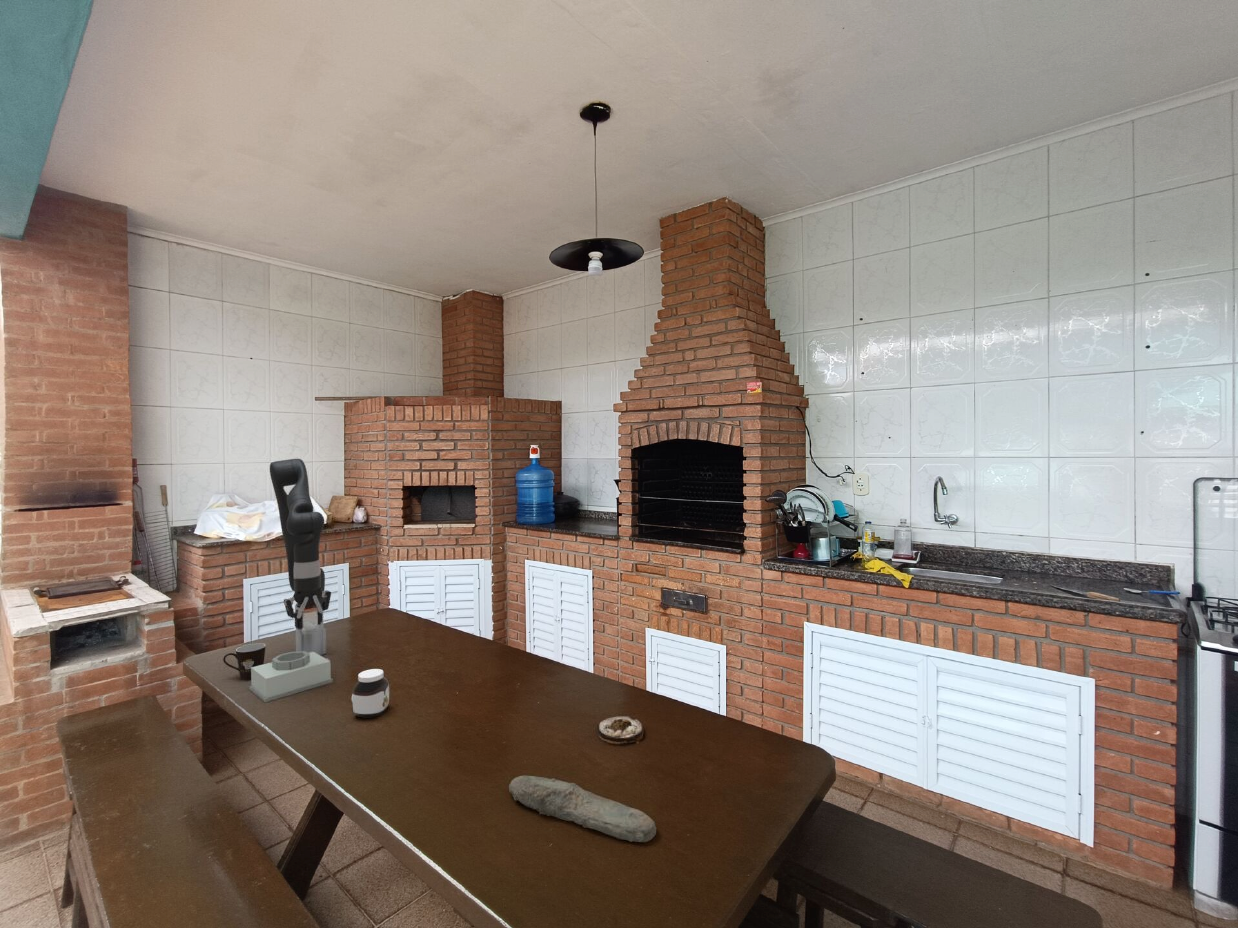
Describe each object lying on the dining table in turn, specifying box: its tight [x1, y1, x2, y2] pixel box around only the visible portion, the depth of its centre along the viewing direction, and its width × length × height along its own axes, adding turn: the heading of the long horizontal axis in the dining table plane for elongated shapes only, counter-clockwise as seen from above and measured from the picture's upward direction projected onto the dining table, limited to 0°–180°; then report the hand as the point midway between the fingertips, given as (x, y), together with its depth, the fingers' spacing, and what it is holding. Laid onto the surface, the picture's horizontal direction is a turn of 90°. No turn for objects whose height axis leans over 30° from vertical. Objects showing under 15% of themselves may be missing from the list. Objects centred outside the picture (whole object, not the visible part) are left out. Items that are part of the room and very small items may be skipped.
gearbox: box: [248, 651, 334, 703], centre depth 187 cm, size 22×15×10 cm
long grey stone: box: [508, 775, 657, 843], centre depth 120 cm, size 35×5×10 cm
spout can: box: [300, 605, 318, 634], centre depth 183 cm, size 5×5×10 cm
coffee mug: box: [222, 642, 267, 681], centre depth 194 cm, size 12×9×10 cm
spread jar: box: [351, 668, 390, 719], centre depth 168 cm, size 12×11×12 cm
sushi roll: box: [596, 715, 645, 746], centre depth 153 cm, size 15×15×4 cm
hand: (308, 626), depth 183 cm, fingers closed on spout can, 5 cm apart
